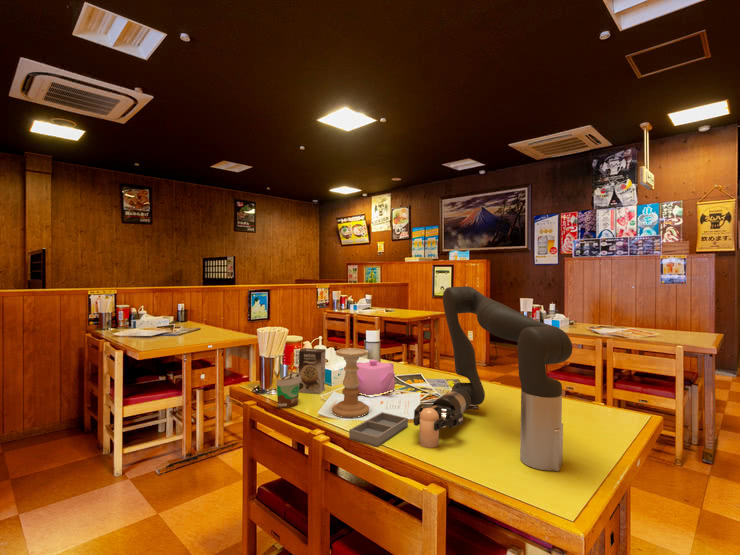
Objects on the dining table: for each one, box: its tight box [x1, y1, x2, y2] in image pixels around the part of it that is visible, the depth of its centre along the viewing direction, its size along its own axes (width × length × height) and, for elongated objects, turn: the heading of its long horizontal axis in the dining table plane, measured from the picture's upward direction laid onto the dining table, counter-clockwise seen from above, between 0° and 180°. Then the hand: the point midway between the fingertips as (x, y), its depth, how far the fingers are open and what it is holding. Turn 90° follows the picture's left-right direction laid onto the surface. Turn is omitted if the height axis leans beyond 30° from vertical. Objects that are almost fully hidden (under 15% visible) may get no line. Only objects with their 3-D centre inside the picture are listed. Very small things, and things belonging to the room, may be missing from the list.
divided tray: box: [348, 411, 409, 448], centre depth 115 cm, size 9×17×2 cm, turn 147°
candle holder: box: [331, 347, 370, 418], centre depth 131 cm, size 12×12×20 cm
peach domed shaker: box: [418, 407, 440, 449], centre depth 107 cm, size 5×5×10 cm
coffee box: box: [298, 347, 327, 395], centre depth 154 cm, size 9×6×16 cm
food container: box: [275, 371, 302, 409], centre depth 138 cm, size 12×6×10 cm, turn 168°
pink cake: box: [356, 358, 396, 395], centre depth 155 cm, size 17×17×12 cm
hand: (425, 424), depth 105 cm, fingers closed on peach domed shaker, 5 cm apart
